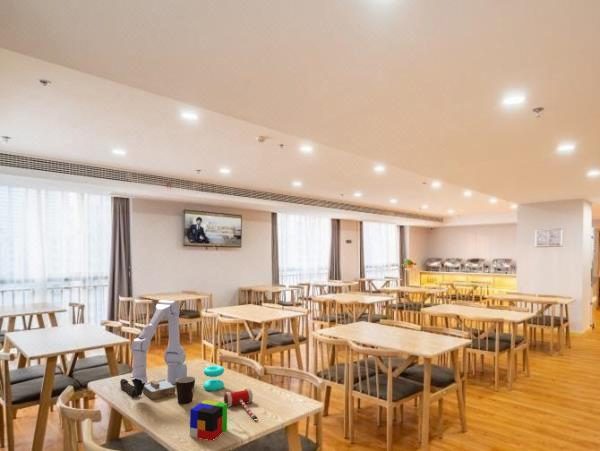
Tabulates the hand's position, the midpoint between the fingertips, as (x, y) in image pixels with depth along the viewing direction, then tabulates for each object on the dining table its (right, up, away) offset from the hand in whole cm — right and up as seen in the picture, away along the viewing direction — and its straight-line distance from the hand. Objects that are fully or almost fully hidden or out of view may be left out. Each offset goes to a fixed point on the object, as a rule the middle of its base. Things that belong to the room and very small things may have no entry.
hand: (138, 395), depth 185 cm
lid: (+6, 0, +9) cm, 11 cm away
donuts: (+31, -4, +17) cm, 35 cm away
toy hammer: (+49, -3, -8) cm, 50 cm away
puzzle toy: (+39, -2, -31) cm, 50 cm away
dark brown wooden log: (-10, -4, +11) cm, 15 cm away
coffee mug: (+21, -3, -2) cm, 21 cm away
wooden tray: (+6, -3, +9) cm, 11 cm away
